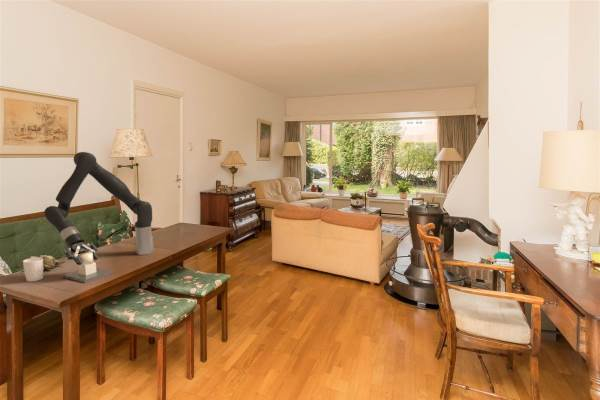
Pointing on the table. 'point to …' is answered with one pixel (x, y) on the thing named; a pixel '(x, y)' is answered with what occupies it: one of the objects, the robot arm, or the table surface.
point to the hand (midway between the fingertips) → (88, 261)
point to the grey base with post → (87, 278)
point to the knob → (86, 264)
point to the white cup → (33, 269)
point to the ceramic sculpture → (48, 261)
